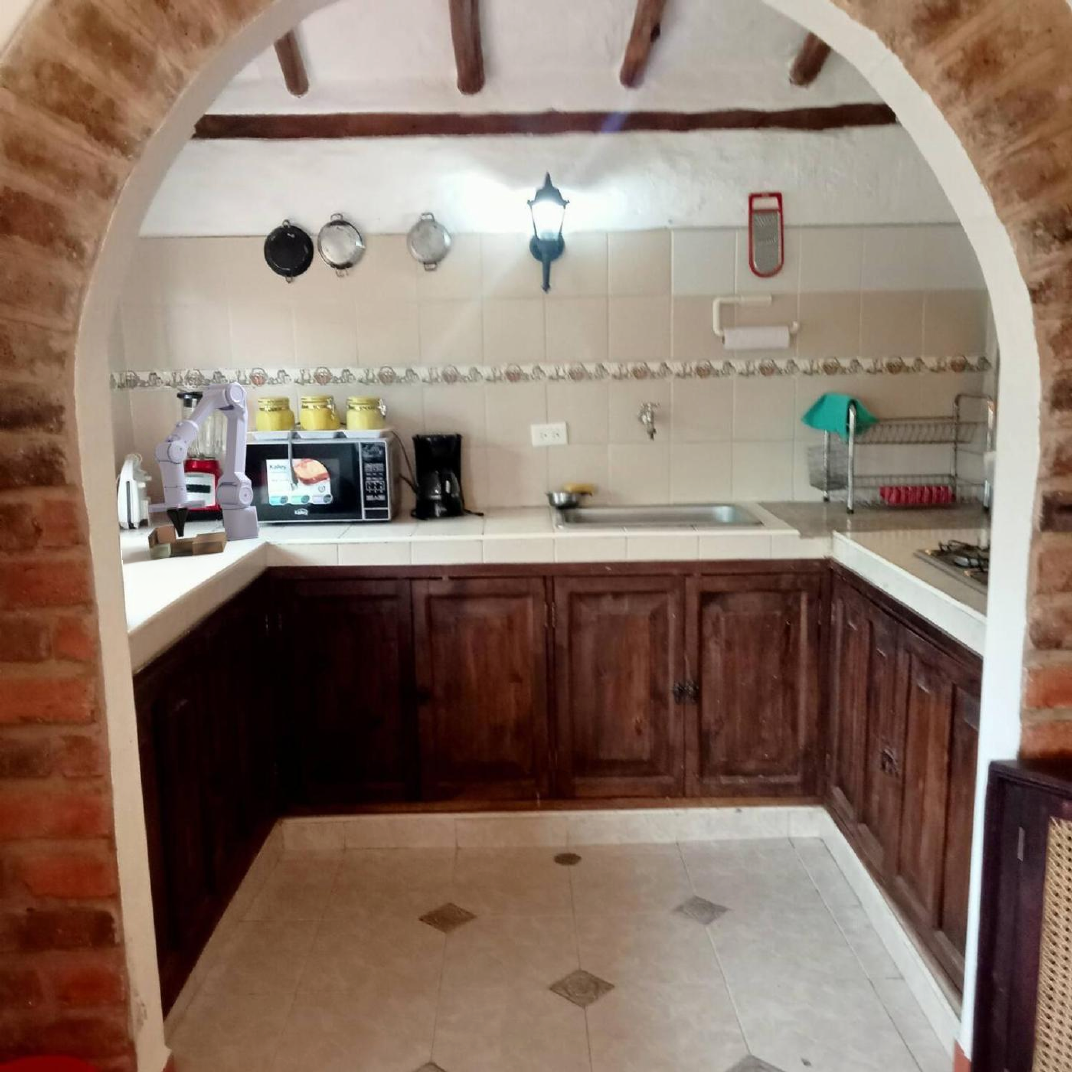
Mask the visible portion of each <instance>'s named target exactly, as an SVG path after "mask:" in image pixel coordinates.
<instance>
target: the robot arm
mask: <svg viewBox="0 0 1072 1072" xmlns="http://www.w3.org/2000/svg"><path fill="white" fill-rule="evenodd" d="M247 395H248V392H247V391H246V390H245V388H244V387H243V385H241V384H240V383H239V382H236V381H235V382H229V383H225V382H224V383H210V384H209V385H208V386H207V387H206V389H205V390H203V391H202V397H201V399H200V400H199V402H198V403H197V404H196V406H195V408H194V409H193V410H192V412H191V413H190V415H189V417H188V418H187V419H183V420H180V421H177V422H176V423H174V425H175V428H174V429H173V430H172V431H171V432H170V434H169V435H166V437H165V441H161V442H159V443H158V444H157V445H156V447H155V448H154V453H153V457H154V459H155V460H156V462H157V463H158V468H159V469H160V474H161V481H162V488H163V489H162V490H163V495H164V502H161V503H155V504H154V503H153V504H148V505H147V513H149V514H150V513H151V514H152V513H159V512H160V513H161V512H166V516H167V517H168V518H169V519H170V521H171V523H172V525H174V527H175V530H176V535H177V537H178V538H184V536H185V524H186V521H187V520H186V519H187V517H188V513H189V509H204V508H205V509H206V507H207V502H206V501H207V500H206V499H202V500H201V499H200V500H199V499H197V500H189V499H188V491H187V483H186V477H185V468H184V461H185V460H186V459H187V456H188V450H189V447H190V446H191V445H192V443H194V441H195V440H196V439H197V437H198V435H200V431H199V427H200V426H201V425H202V424H203V423H204V422H205V421H206V420H207V419H208V417H209V416H210V415H211V414H212V413H213V412H214V411H215V410H218V412H219V411H220V413H222V414H223V415H224V416H225V417H226V418H227V427H226V443H225V454H224V455H225V458H224V473H222V475H221V476H220V477H219V478H218V480H217V486H216V488H215V490H214V500H215V501H216V503H217V504H218V505H219V507H220V509H222V511H221V512H222V518H223V525H224V532H225V531H226V539H227V540H230V541H238V540H250V539H258V538H259V537H260V525H259V522H258V514H257V507H256V505H253V506H251V503H252V501H253V499H254V492H253V489H252V480H251V479H250V478H249V477H248V476H247V475H246V472H245V471H246V457H247V440H248V439H247V436H248V420H249V411H248V406H247Z"/></svg>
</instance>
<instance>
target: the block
mask: <svg viewBox="0 0 1072 1072" xmlns="http://www.w3.org/2000/svg"><path fill="white" fill-rule="evenodd" d="M157 527H158V529H157V530H158V537H159V544H160V543H170V542H176V540H177V539H178V538H177V537H178V536H177V531H176V529H175V527H174V525H173V524H170V525H164V526H163V525H162V526H157Z"/></svg>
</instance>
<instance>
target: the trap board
mask: <svg viewBox="0 0 1072 1072" xmlns="http://www.w3.org/2000/svg"><path fill="white" fill-rule="evenodd" d="M158 527H159V526H157V527H155V528H154V529H153V530H152V532H151V533H149V535H148V536H147V540H148V541H147V542H148V547H149V556H150V560H159V559H167V558H168V559H171V558H178V557H189V556H197V555H208V554H217V553H224V551H225V547H226V545H227V543H228V541H227V539H226V531H225V530H224V531H216V532H208V533H207V532H206V533H197V534H196V536H193V537H181V538H177V540H176V542H170V543H160V544H159V537H158V530H157V529H158Z"/></svg>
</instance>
